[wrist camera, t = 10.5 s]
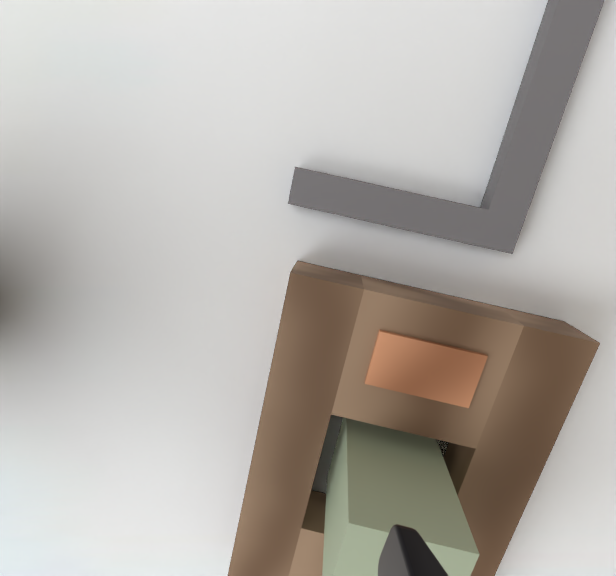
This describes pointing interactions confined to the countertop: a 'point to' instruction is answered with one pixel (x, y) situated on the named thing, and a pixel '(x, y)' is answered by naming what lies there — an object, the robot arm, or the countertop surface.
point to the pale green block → (390, 501)
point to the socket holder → (404, 405)
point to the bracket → (510, 160)
